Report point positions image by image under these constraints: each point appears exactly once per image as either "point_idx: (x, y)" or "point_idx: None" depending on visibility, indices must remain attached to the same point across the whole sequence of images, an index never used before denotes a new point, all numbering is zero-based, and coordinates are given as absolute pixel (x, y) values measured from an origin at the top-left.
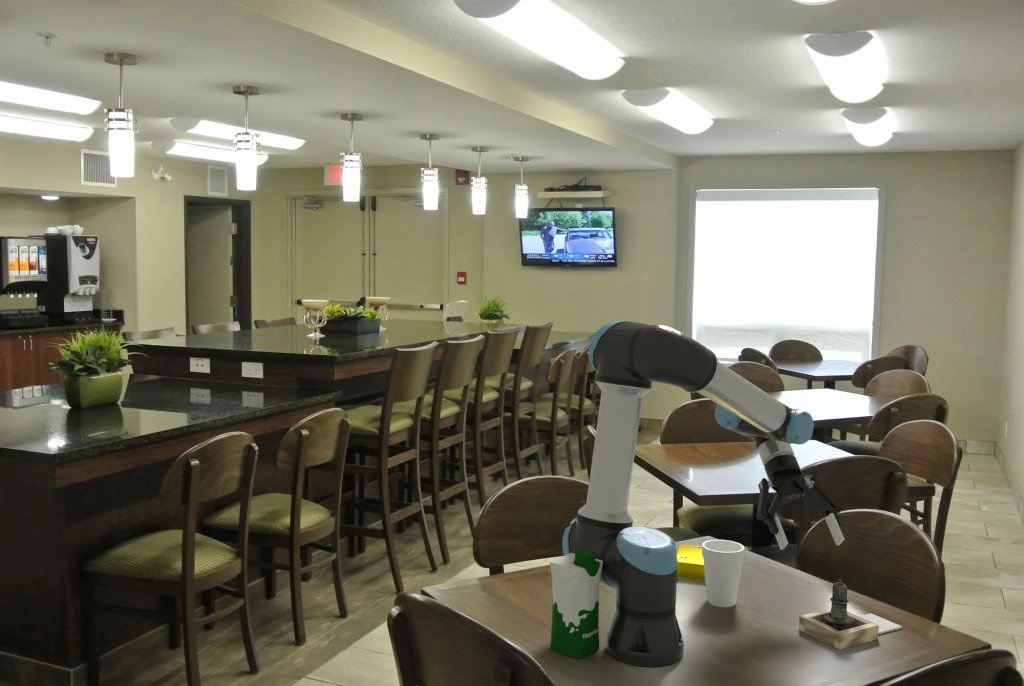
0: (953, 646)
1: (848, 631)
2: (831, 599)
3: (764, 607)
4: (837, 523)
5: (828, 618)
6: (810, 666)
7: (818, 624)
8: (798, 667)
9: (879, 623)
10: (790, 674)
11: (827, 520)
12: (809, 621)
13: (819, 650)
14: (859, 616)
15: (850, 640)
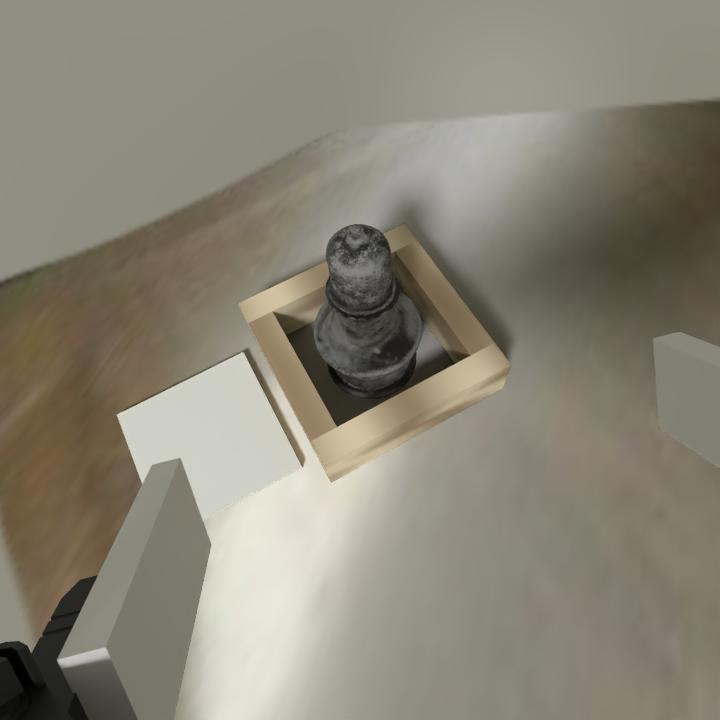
0: (44, 298)
1: None
2: (396, 286)
3: (614, 624)
4: (112, 552)
5: (410, 313)
6: (520, 160)
7: (455, 295)
8: (555, 153)
9: (184, 436)
10: (583, 121)
11: (158, 713)
12: (480, 325)
13: (469, 247)
14: (227, 501)
15: None
